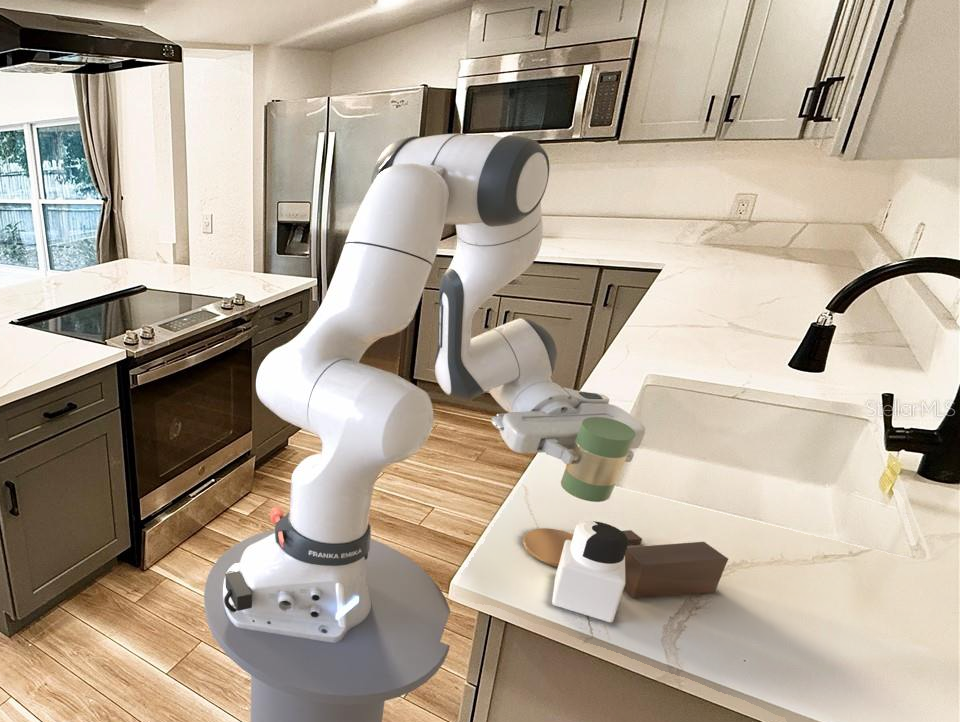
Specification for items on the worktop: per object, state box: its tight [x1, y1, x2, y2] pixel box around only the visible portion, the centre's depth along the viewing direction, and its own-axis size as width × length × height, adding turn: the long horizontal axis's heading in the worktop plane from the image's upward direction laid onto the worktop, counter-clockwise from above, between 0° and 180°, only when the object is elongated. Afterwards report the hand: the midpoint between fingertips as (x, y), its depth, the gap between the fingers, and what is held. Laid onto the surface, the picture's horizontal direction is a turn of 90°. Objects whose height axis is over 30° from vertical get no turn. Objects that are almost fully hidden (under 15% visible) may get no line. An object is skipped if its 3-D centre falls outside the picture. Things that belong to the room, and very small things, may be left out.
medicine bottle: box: [551, 520, 629, 623], centre depth 85 cm, size 7×7×12 cm
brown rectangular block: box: [621, 529, 729, 599], centre depth 92 cm, size 14×12×6 cm
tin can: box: [560, 417, 635, 503], centre depth 91 cm, size 12×7×12 cm
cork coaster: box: [522, 527, 574, 568], centre depth 98 cm, size 10×10×1 cm
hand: (601, 459), depth 90 cm, fingers closed on tin can, 6 cm apart
